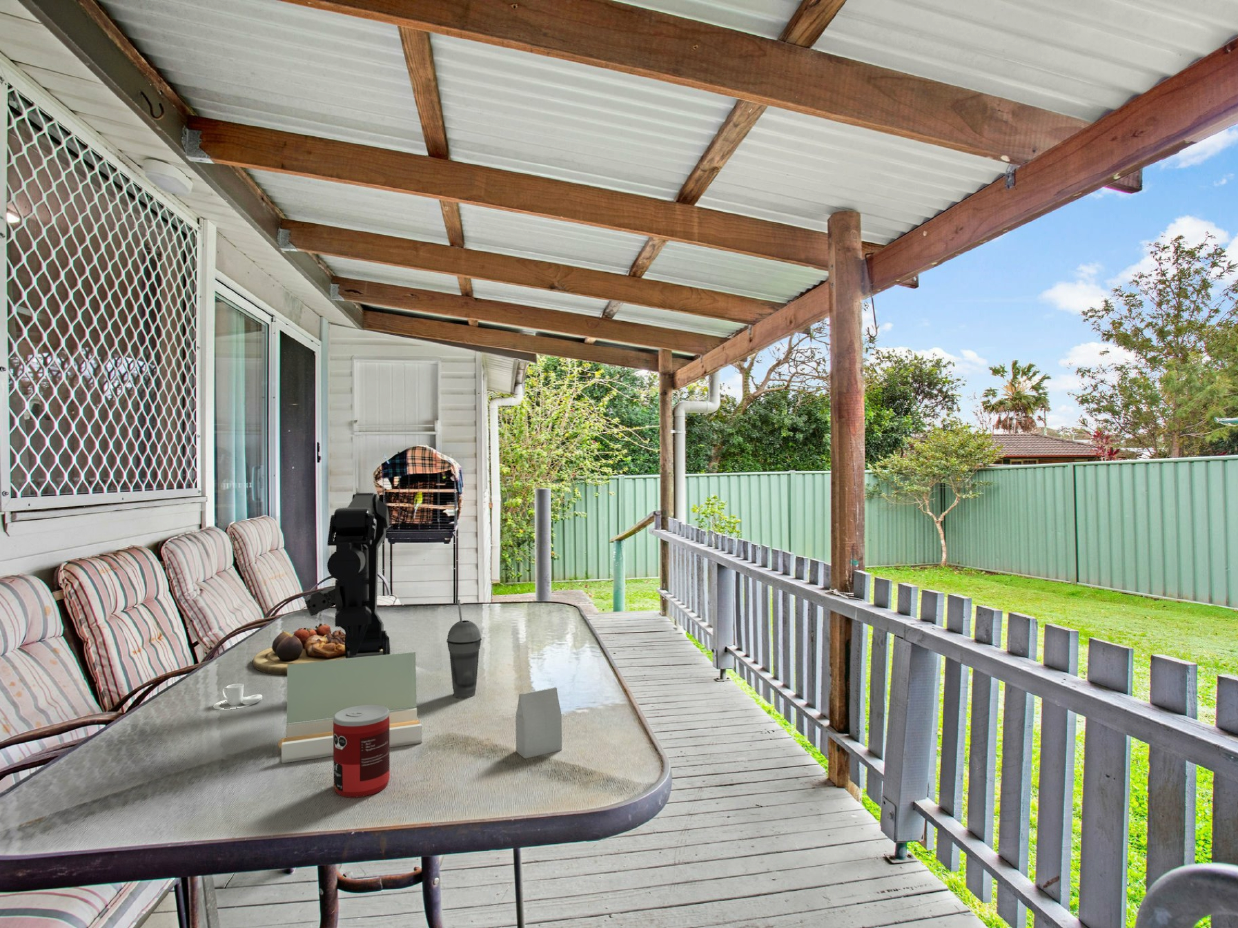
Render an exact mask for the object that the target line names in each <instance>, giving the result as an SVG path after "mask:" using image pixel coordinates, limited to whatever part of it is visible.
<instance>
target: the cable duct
mask: <svg viewBox="0 0 1238 928" xmlns="http://www.w3.org/2000/svg"><path fill="white" fill-rule="evenodd" d="M333 720H334V718H327V719H319V720H311V721H303V722H296V723H288V724H287V723H286V725H285V728H286V729H285V732H286V733H285V736H286V737H285V738H287V737H295V736H302V735H310V734H317V733H325V732H332V731H333ZM415 720H418V707H414V708H406V709H398V710H390V711H389V721H390V724H392V723H400V722H407V721H415ZM422 743H423V724H422V723H420V724H415V725H407V726H400V727H393V728H390V748H395V747H402V746H410V745H411V746H412V745H416V744H422ZM326 757H333V736H326V737H319V738H312V739H304V740H297V741H289V742H282V749H281V764H285V763H292V762H301V761H307V760H313V759H321V758H326Z"/></svg>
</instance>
